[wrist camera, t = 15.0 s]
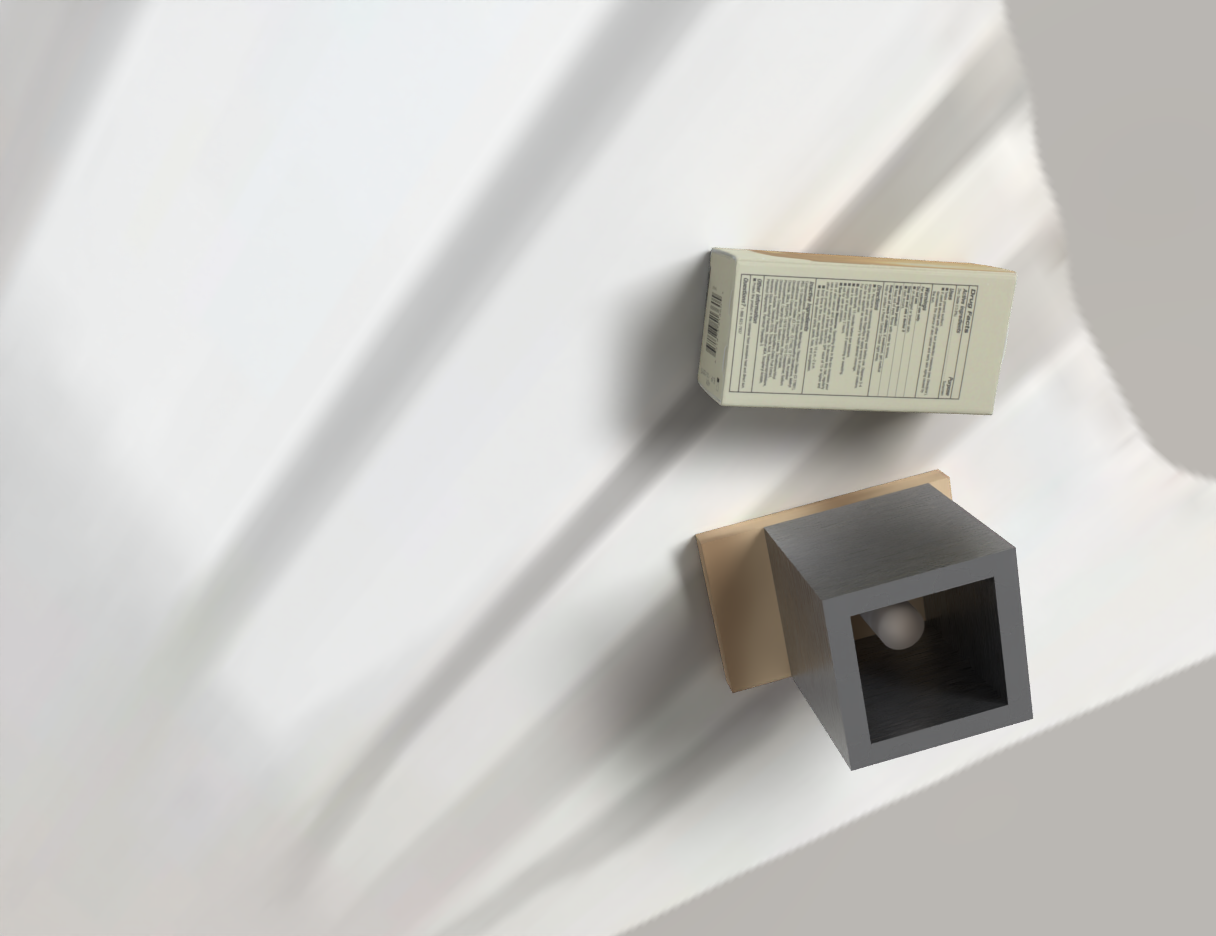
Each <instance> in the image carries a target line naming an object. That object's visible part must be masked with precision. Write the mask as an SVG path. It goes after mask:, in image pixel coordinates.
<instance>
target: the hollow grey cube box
mask: <svg viewBox="0 0 1216 936" xmlns="http://www.w3.org/2000/svg"><path fill="white" fill-rule="evenodd" d="M764 532H765V538H766V543H767V548H768V554H769V559H770V564H771V570H772V575H773V580H774V586H775V591H776V596H777V602H778V607H779V612H780V618H781V623H782V628H783V634H784V639H785V644H786V649H787V655H788V660H789V665H790V671H791V676H792V678H793V680H794V681H795V683H796V684H797V686H798V687H799V689H800V691H801V692H802V694H803V695H804V697H805V698H806V700H807V702H808V703H809V705H810V706H811V708H812V710H813V711H814V713H815V714H816V716H817V717H818V719H819V721H820V722H821V724H822V725H823V727H824V728H825V730H826V732H827V733H828V735H829V736H830V738H831V740H832V741H833V743H834V744H835V746H836V747H837V749H838V751H839V752H840V754H841V755H842V757H843V758H844V760H845V762H846V763H847V765H848V766H849V768H850V769H851V771H853V770H856V769H859V768H863V767H866V766H870V765H873V764H877V763H880V762H884V761H887V760H891V759H894V758H898V757H901V756H905V755H908V754H912V753H915V752H919V751H922V750H926V749H929V748H933V747H936V746H939V745H943V744H946V743H950V742H953V741H957V740H960V739H964V738H967V737H971V736H974V735H978V734H981V733H985V732H988V731H992V730H995V729H999V728H1002V727H1006V726H1009V725H1013V724H1016V723H1019V722H1023V721H1026V720H1030V719H1033V713H1032V703H1031V694H1030V684H1029V674H1028V665H1027V655H1026V645H1025V635H1024V626H1023V616H1022V606H1021V596H1020V587H1019V577H1018V567H1017V558H1016V548H1015V547H1014V546H1013V545H1011V544H1010V543H1009V542H1007V541H1006V540H1005V539H1003V538H1002V537H1001V536H999V535H998V534H997V533H995V532H994V531H993V530H991V529H990V528H989V527H987V526H986V525H984V524H983V523H982V522H980V521H979V520H978V519H976V518H975V517H974V516H972V515H971V514H970V513H968V512H967V511H966V510H964V509H963V508H962V507H960V506H959V505H958V504H956V503H955V502H953V501H952V500H951V499H949V498H948V497H947V496H945V495H944V494H943V493H941V492H940V491H939V490H937V489H936V488H935V487H933V486H932V485H931V484H929V483H926V484H923V485H919V486H915V487H911V488H908V489H904V490H900V491H897V492H893V493H889V494H885V495H882V496H878V497H874V498H871V499H867V500H863V501H859V502H856V503H852V504H848V505H845V506H841V507H837V508H833V509H830V510H826V511H822V512H819V513H815V514H811V515H807V516H804V517H800V518H796V519H793V520H789V521H785V522H781V523H778V524H774V525H770V526H767V527H764ZM922 596H923V601H924V609H925V616H926V620H925V621H924V630H923V633H922V635H921V637H920V639H919V640H918V641H917V642H916V643H915V644H914V645H912V646H910V647H908V648H906V649H900V650H896V649H892V648H889V647H888V646H886V645H885V644H884V643H883V642H882V641H881V639H880V638H879V637H878V636H877V635H876V634H875V635H872V636H868V637H864V638H861V639H857V640H854V637H853V631H852V625H851V619H850V616H854V615H857V614H861V613H864V612H868V611H872V610H875V609H879V608H882V607H886V606H890V605H893V604H897V603H901V602H904V601H908V600H911V599H915V598H919V597H922Z"/></svg>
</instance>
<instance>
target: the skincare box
mask: <svg viewBox="0 0 1216 936" xmlns="http://www.w3.org/2000/svg"><path fill="white" fill-rule="evenodd" d="M1017 279H1018V277H1017V273H1016V272H1014V271H1011V270H1006V269H1002V268H997V267H992V266H986V265H979V264H973V263H957V262H939V261H923V260H907V259H892V258H876V257H859V256H843V255H826V254H810V253H794V252H778V251H762V250H747V249H729V248H712V250H711V255H710V264H709V277H708V287H707V297H706V307H705V317H704V327H703V336H702V345H701V354H700V363H699V369H698V382H699V385H700V386H701V387H702V388H703V389H704V390H705V392H706V393H707V394H708V395H709V396H710V397H712V398H713V399H714V400H715V401H716V402H717V403H719V404H720V405H721V406H736V407H767V408H794V409H826V410H853V411H883V412H916V413H947V414H973V415H992V414H993V411H994V404H995V398H996V392H997V387H998V381H999V375H1000V370H1001V365H1002V362H1003V359H1004V355H1005V351H1006V346H1007V340H1008V327H1009V321H1010V316H1011V310H1012V304H1013V299H1014V294H1015V288H1016V284H1017Z"/></svg>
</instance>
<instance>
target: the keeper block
mask: <svg viewBox="0 0 1216 936" xmlns="http://www.w3.org/2000/svg"><path fill="white" fill-rule="evenodd" d="M926 483H929V484H931V485H932V486H933V487H935V488H936V489H937V490H939V491H940V492H941V493H943V494H944V495H945V496H947V497H948V498H949V499H951V500H952V494H951V486H950V478H949V477H948V476H947V475H945V474H944V473H943V472H941V471H940V470H934V471H930V472H926V473H923V474H919V475H915V476H912V477H908V478H904V479H900V480H897V481H893V482H889V483H886V484H882V485H878V486H874V487H871V488H867V489H863V490H860V491H856V492H852V493H848V494H845V495H841V496H837V497H833V498H830V499H826V500H822V501H819V502H815V503H811V504H807V505H804V506H800V507H796V508H793V509H789V510H785V511H781V512H778V513H774V514H770V515H767V516H763V517H759V518H755V519H752V520H748V521H744V522H740V523H737V524H733V525H729V526H726V527H722V528H718V529H714V530H711V531H707V532H703V533H700V534H696V540H697V544H698V549H699V554H700V558H701V563H702V568H703V573H704V577H705V582H706V587H707V591H708V596H709V601H710V606H711V610H712V615H713V620H714V624H715V629H716V634H717V639H718V643H719V648H720V653H721V657H722V662H723V667H724V672H725V676H726V681H727V683H728V685H729V687H730V689H731V691H732V693H735V692H738V691H742V690H746V689H749V688H753V687H756V686H760V685H763V684H767V683H771V682H774V681H778V680H781V679H785V678H788V677H792V676H791V671H790V665H789V660H788V655H787V649H786V644H785V639H784V634H783V628H782V623H781V618H780V612H779V607H778V602H777V596H776V591H775V586H774V580H773V575H772V570H771V564H770V559H769V554H768V548H767V543H766V538H765V532H764V527H767V526H770V525H774V524H778V523H781V522H785V521H789V520H793V519H796V518H800V517H804V516H807V515H811V514H815V513H819V512H822V511H826V510H830V509H833V508H837V507H841V506H845V505H848V504H852V503H856V502H859V501H863V500H867V499H871V498H874V497H878V496H882V495H885V494H889V493H893V492H897V491H900V490H904V489H908V488H911V487H915V486H919V485H923V484H926ZM850 619H851V625H852V631H853V637H854V640H857V639H861V638H864V637H868V636H872V635H875V634H876V635H877V636H878V637H879V638H880V639H881V641H882V642H883V643H884V644H885V645H886V646H888V647H889V648H892V649H896V650H900V649H906V648H908V647H910V646H912V645H914V644H915V643H916V642H917V641H918V640H919V639H920V637H921V635H922V633H923V630H924V621H925V620H926V616H925V609H924V601H923V596H922V597H919V598H915V599H911V600H908V601H904V602H901V603H897V604H893V605H890V606H886V607H882V608H879V609H875V610H872V611H868V612H864V613H861V614H857V615H854V616H850Z"/></svg>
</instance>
